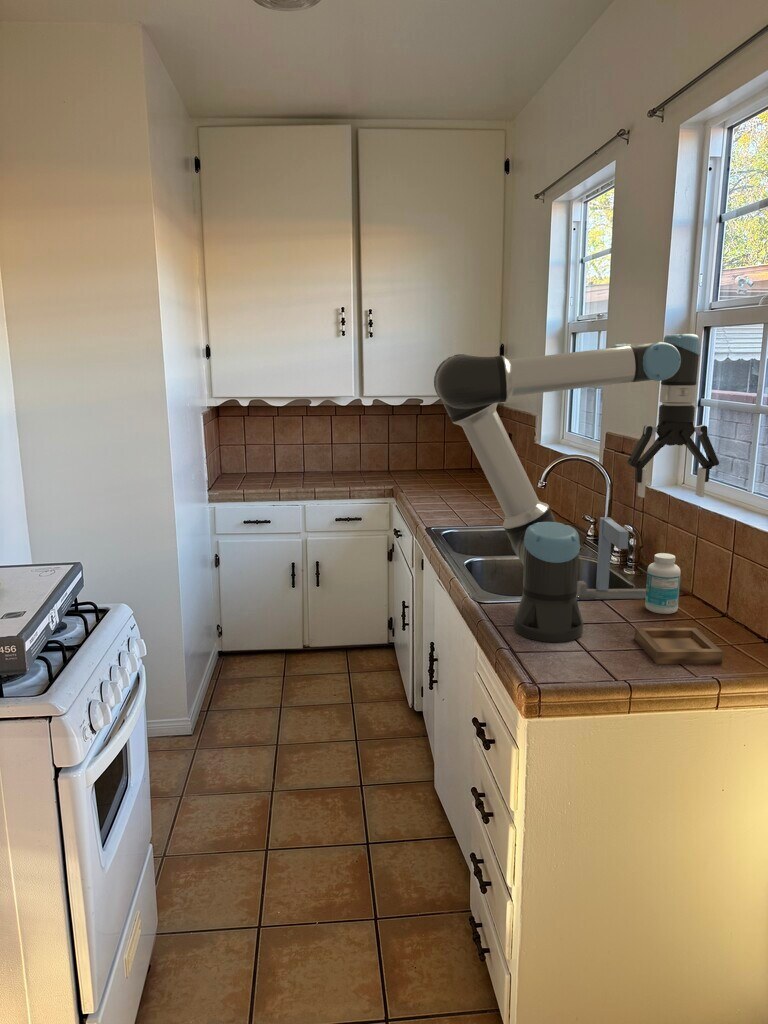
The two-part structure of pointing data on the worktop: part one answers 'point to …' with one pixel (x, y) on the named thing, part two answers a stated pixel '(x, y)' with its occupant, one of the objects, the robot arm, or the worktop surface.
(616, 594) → the gate rail
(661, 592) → the pill bottle
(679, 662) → the open box
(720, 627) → the worktop surface
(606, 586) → the bar
